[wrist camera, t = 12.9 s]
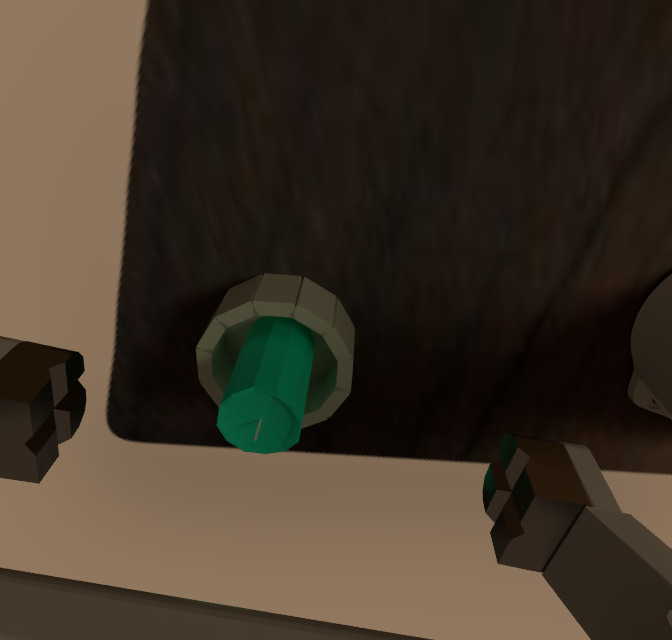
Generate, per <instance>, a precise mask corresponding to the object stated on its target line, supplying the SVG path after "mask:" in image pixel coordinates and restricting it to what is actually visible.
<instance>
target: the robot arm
mask: <svg viewBox="0 0 672 640" xmlns="http://www.w3.org/2000/svg"><path fill="white" fill-rule="evenodd" d="M631 353H632V358H633V363H634V371H633V374H632V377H631V380H630V383H629V387H628V396H629V398H630V399H631V400H632V401H633V402H634V403H635V404H636V405H637V406H639V407H642V408H644V409H647V410H650V411H652V412H655V413H657V414H660V415H663V416H665V417H668V418H670V419H671V420H672V274H671V275H670V276H668V277H667V278H666V279H665V280H664V281H663V282H662V283H661V284H659V285H658V286H657V288H656V289H655V290H654V291H653V292H652V293H651V294H650V296H649V297H648V298H647V300H646V301H645V302H644V304H643V306H642V307H641V309H640V311H639V313H638V315H637V317H636V319H635V322H634V325H633V329H632V334H631ZM84 371H85V369H84V359H83V356H82V355H81V354H80V353H79V352H76V351H71V350H66V349H61V348H56V347H52V346H47V345H42V344H37V343H33V342H28V341H21V340H17V339H12V338H6V337H2V336H0V478H6V479H12V480H19V481H26V482H34V483H40V481H41V480H42V479H43V477H44V476H45V475H46V473H47V472H48V470H49V469H50V467H51V466H52V465H53V463H54V462H55V461H56V459H57V458H58V456H59V452H58V444H61V443H63V442H65V441H67V440H69V439H71V438H72V436H73V435H74V433H75V432H76V430H77V429H78V428H79V425H80V423H81V420H82V418H83V415H84V412H85V405H86V390H85V388H84V387H83V386H82V384H81V383H80V382H79V381H78V379H79V378H80V376H81V375H82V374H83V372H84ZM498 450H499V453H500V457H501V458H500V459H498V460H497V461H495V462H493V463H492V464H490V466H489V468H488V470H487V473H486V475H485V479H484V485H483V503H484V508H485V513H486V514H487V515H488V516H489V517H490V518H491V519H492V520H493V521H494V522H495V524H494V526H493V528H492V530H491V532H490V534H491V538H492V542H493V546H494V550H495V554H496V558H497V563H498V564H502V565H507V566H512V567H517V568H521V569H526V570H531V571H536V572H541V573H543V574H542V576H543V577H544V578H545V579H546V581H547V582H548V584H549V585H550V586H551V587H552V589H553V590H554V591H555V593H556V594H557V595H558V597H559V598H560V599H561V601H562V602H563V603H564V605H565V606H566V607H567V608H568V610H569V611H570V612H571V614H572V615H573V616H574V618H575V619H576V620H577V622H578V623H579V624H580V626H581V627H582V628H583V630H584V631H585V632H586V634H587V635H588V636H589V637H590V639H591V640H672V549H671V548H669V547H668V546H667V545H666V544H665V543H664V542H662V541H661V540H660V539H659V538H658V537H656V536H655V535H654V534H653V533H652V532H650V531H649V530H648V529H647V528H646V527H644V526H643V525H642V524H641V523H640V522H639V521H637V520H636V519H635V518H634V517H633V516H632V515H630V514H626V513H622V512H621V510H620V508H619V506H618V504H617V502H616V500H615V498H614V496H613V494H612V492H611V490H610V489H609V486H608V485H607V483H606V481H605V479H604V477H603V475H602V473H601V471H600V469H599V467H598V465H597V463H596V461H595V459H594V457H593V455H592V454H591V452H590V450H589V449H588V448H587V447H585V446H584V445H578V444H572V443H565V442H555V441H549V440H544V439H538V438H533V437H527V436H522V435H516V434H511V433H507V434H506V435H505V436H504V437H503V438H502V441H501V443H500V445H499V447H498ZM0 640H431V639H426V638H420V637H413V636H407V635H400V634H395V633H389V632H383V631H377V630H371V629H365V628H359V627H353V626H347V625H341V624H335V623H329V622H323V621H317V620H311V619H305V618H299V617H293V616H287V615H281V614H275V613H269V612H263V611H257V610H251V609H245V608H239V607H233V606H227V605H221V604H215V603H209V602H203V601H197V600H191V599H185V598H179V597H173V596H167V595H161V594H155V593H149V592H144V591H137V590H132V589H126V588H119V587H113V586H108V585H101V584H96V583H89V582H83V581H78V580H71V579H66V578H59V577H54V576H47V575H41V574H35V573H29V572H23V571H17V570H11V569H5V568H0Z"/></svg>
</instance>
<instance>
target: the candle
mask: <svg viewBox="0 0 672 640" xmlns="http://www.w3.org/2000/svg"><path fill="white" fill-rule="evenodd" d="M315 343H316V342H315V339H314V337H313V335H312V332H311V330H310V328H309V327H307V326H305V325H304V324H302V323H300V322H298V321H297V320H295V319H293V318H290V317H276V316H264V317H260V318H259V319H258V320H257V321H256V322H255V323H254V324H253V326H252V327H251V328H250V329H249V331H248V333H247V336H246V338H245V341H244V343H243V346H242V349H241V351H240V354H239V356H238V359H237V362H236V364H235V367H234V369H233V372H232V375H231V377H230V380H229V382H228V385H227V388H226V390H225V393H224V395H223V398H222V401H221V403H220V406H219V413H218V420H217V427H218V428H219V430H220V431H221V433H222V434H223V436H224V437H225V439H226V441H228V442H230V443H231V444H233V445H235V446H236V447H238V448H239V449H241V450H243V451H245V452H254V453H263V454H269V453H276V452H282V451H286V450H288V449H289V448H290V447H292V446H293V445H295V444H296V443H298V442H299V437H300V432H301V427H302V422H303V416H304V410H305V404H306V398H307V392H308V386H309V380H310V374H311V368H312V362H313V355H314V349H315Z"/></svg>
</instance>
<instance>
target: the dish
mask: <svg viewBox="0 0 672 640" xmlns="http://www.w3.org/2000/svg"><path fill="white" fill-rule="evenodd" d="M264 316H276V317H290V318H293V319H295V320H297V321H298V322H300V323H302V324H304V325H305V326H307V327H309V328H310V330H311V332H312V335H313V337H314V339H315V342H316V343H315V349H314V355H313V362H312V368H311V374H310V380H309V386H308V392H307V398H306V404H305V410H304V416H303V422H302V427H301V429H302V428H305V427H307V426H310V425H313V424H316V423H318V422H321V421H324V420H327V419H328V417H329V418H330V417H331V416H332V414H333V413H334V412H335V411H336V410H337V408H338V407H339V406H340V405H341V404H342V403H343V401H344V400H345V399H346V398H347V397H348V396H349V394H350V392H351V383H352V371H353V357H354V336H355V329H354V325H353V323H352V322H351V320H350V318H349V316H348V315H347V313H346V311H345V309H344V307H343V306H342V304H341V302H340V300H339V299H338V298H336V296H335V295H334V294H332V293H331V292H329V291H327V290H326V289H324V288H322V287H321V286H319V285H317V284H316V283H314V282H312V281H311V280H309V279H307V278H306V277H304V278H303V280H302V276H295V275H280V274H266V273H264V275H262V274H260V275H258V276H256V277H254V278H252V279H249V280H247V281H245V282H243V283H241V284H239V285H236V286H234V287H232V288H230V290H228V291H227V293H226V295H225V296H224V298H223V300H222V301H221V303H220V304H219V306H218V308H217V309H216V311H215V313H214V314H213V316H212V318H211V320H210V322H209V323H208V325H207V327H206V329H205V331H204V333H203V335H202V337H201V339H200V341H199V342H198V344H197V346H196V347H197V348H196V355H197V366H198V376H199V381H200V384H201V385H202V386H203V387H204V389H205V390H206V391H207V393H208V394H209V395H210V397H211V398H212V399H213V400H214V402H215V403H216V404H217V406H218V407H219V406H220V403H221V401H222V398H223V395H224V393H225V390H226V388H227V385H228V382H229V380H230V377H231V375H232V372H233V369H234V367H235V364H236V362H237V359H238V356H239V354H240V351H241V349H242V346H243V343H244V341H245V338H246V336H247V333H248V331H249V329H250V328H251V327H252V326H253V324H254V323H255V322H256V321H257V320H258V319H259V318H260V317H264Z"/></svg>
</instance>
